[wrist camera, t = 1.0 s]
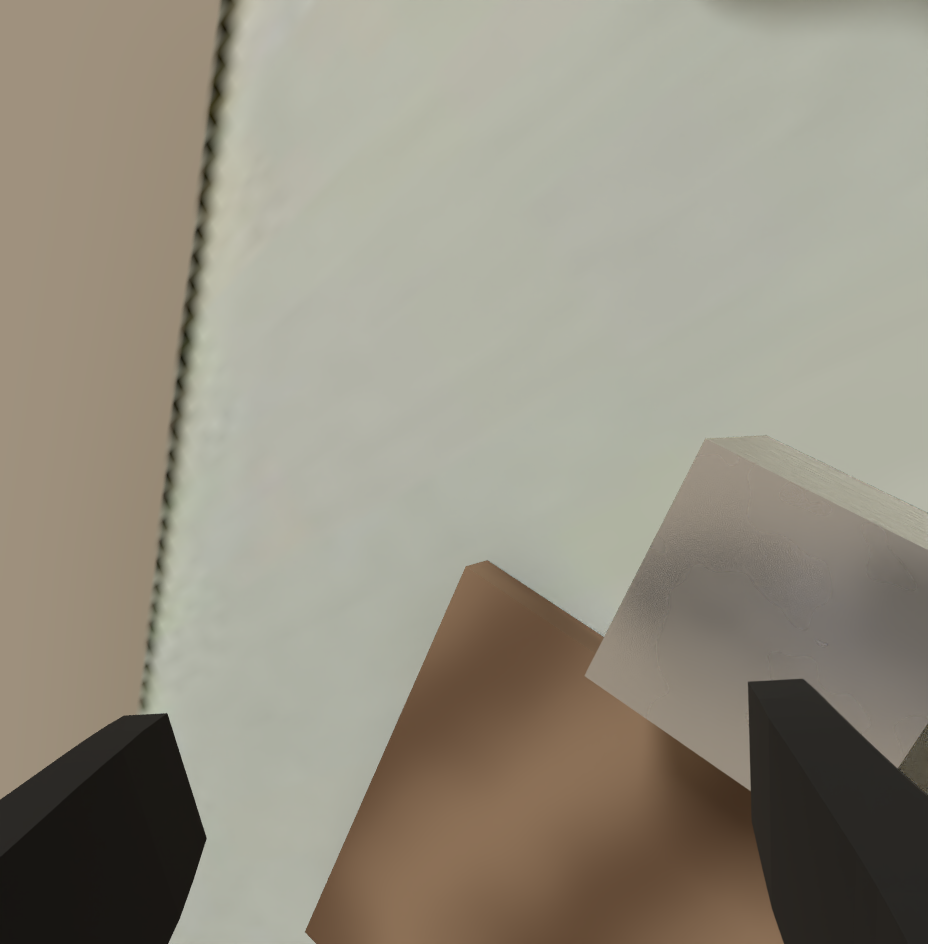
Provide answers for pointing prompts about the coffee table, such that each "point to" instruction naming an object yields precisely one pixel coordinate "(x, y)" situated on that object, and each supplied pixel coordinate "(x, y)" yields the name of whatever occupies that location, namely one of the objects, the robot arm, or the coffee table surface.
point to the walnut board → (539, 804)
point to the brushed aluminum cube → (774, 603)
